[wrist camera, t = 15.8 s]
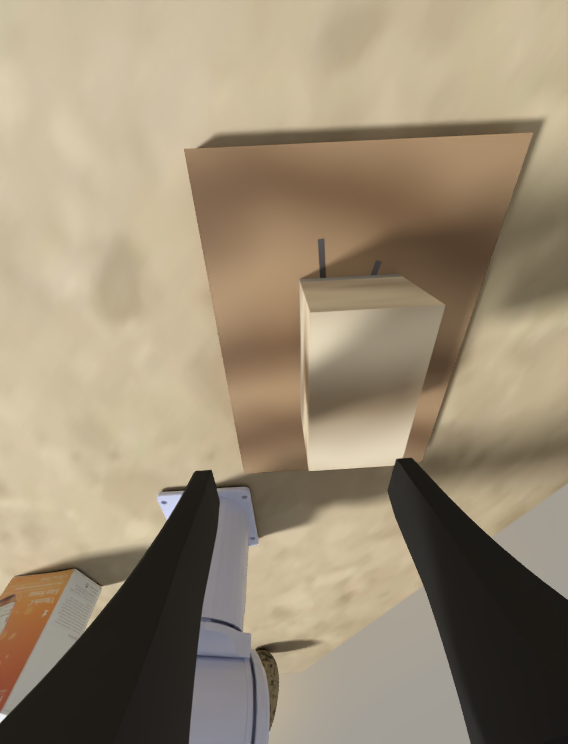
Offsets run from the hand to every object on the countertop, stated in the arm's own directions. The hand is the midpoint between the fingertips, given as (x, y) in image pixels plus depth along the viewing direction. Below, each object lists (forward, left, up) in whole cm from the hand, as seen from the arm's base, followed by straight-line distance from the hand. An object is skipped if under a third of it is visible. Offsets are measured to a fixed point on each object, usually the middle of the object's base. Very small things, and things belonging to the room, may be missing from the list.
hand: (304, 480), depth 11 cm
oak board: (+1, -3, -9) cm, 9 cm away
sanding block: (+1, -3, -7) cm, 8 cm away
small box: (-28, +28, -9) cm, 40 cm away
